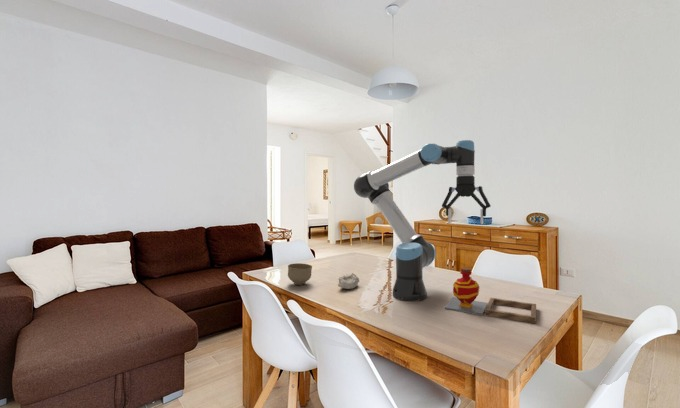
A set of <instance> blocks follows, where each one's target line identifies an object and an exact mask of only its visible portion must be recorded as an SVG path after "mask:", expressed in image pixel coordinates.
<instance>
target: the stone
mask: <svg viewBox="0 0 680 408" xmlns="http://www.w3.org/2000/svg"><path fill="white" fill-rule="evenodd" d="M359 282H360V279H359V277H358V276H357V275H356V274H355V273H354V272H351V273H348V274H345V275H342V276H339V278H338V284H337V286H338V287H339V288H341V289H345V290H346V289H347V290H352V289H354V288H357V286H358V284H359Z"/></svg>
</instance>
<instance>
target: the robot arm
mask: <svg viewBox="0 0 680 408" xmlns="http://www.w3.org/2000/svg"><path fill="white" fill-rule="evenodd" d="M475 151H476V150H475V142H474V141H473V140H470V139H469V140H468V139H465V140H464V139H463V140H458V141H456V144H455V145H454V146H441V145H438V144H436V143H426V144H424V145H423V147H422V148H421V149H419V150H417V151H415V152H413V153H410V154H409V155H406V156H404V157H402V158H400V159H398V160H396V161H393V162H391V163H390V164H387V165H385V166H383V167H381V168H379V169H377V170H374V171H371V170H370V171H368V172H365V173H363V174H361V175H359V176H357V178H356V179H355V180H354V182H353V190H354V192H355V194H356V195H357V196H358V197H360V198H364V199H367V198H368V200H369V202H370V203H371V204H372V205H373V206H376V207H377V208H378V210H379V211H380V213H381V215H383V217H384V218H385V221H386V222H387V223H388V225H389V226H390V227H391V229H392V230H393V232H394V233H395V235H396V236H397V238H398V239H399V241H400V242H401V243H400V244H398V245H397V246H396V250H395V269H396V270H395V271H396V275H395V276H396V278H395V282H394V285H393V288H392V296H393V298H395V299H398V300H401V301H408V302H414V301H415V302H417V301H422V300H425V299H427V294H428V292H427V289H426V286H425V283H424V279H423V268H425V267H428V266H430V265H431V264H432V263H433V262H434V261H435V259H436V256H437V255H436V250H435V247H434V245H433V244H432V243H430V242H429V241H426V240H425V238H424V237H423V235H422V234H418V233H417V232H416V230H415V229H414V228H413V226H412V225H411V224H410V222H409V221H408V219H407V217H406V216H405V215H404V213H403V212H402V210H401V209H400V207H399V206H398V205H397V203H396V201H394V200H393V198H392V196H391V195H392V192H391V190H390V184H389V183H390V182H393V181H394V180H398V179H400V178H401V177H404V176H406V175H409V174H411V173H413V172H415V171H417V170H420V169H422V168H425V167H427V166H429V165H445V164H446V165H447V164H456V179H455V180H456V183H455V184H456V186H455V187H453V186H449V188H448V192H447V195H446V197H445V198H444V201H443V202H442V204H441V208H444V209H445V216H447V217H448V219H447V221H448V224H452V208H451V207H452V205H454V203H455V202H456V201H457V200H458V199H459V198H460V197H461V198H464V197H467V198H468V197H471V198H473V200H474V201H475V202H476V203H477V204H478V205H479V206H480V225H484V217H486V216H487V209H488V208H491V204H490V202H489V200H488V198H487V196H486V194H485V193H484V192H485V191H484V190H483V189H484V188H483V186H482V185H479V186H476V185H475V178H476V177H475V173H476V172H475V171H476V170H475V153H476V152H475ZM475 191H477V192H479V195H480V196H481V199H482V200H483V202H484V203H483V202H482V200H481V199H479V197H478V196H477V194H475ZM454 192H457V193H456V194H455V195H454V197H453V198H452V199H451V200H450V198H451V197H452V194H453V193H454Z"/></svg>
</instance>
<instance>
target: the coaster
mask: <svg viewBox="0 0 680 408" xmlns="http://www.w3.org/2000/svg"><path fill="white" fill-rule="evenodd" d="M460 303H461V301H459V300H458V299H457V297H452V298H451V299H450V300H449V302H447V304H446V305H445V307H444V310H450V311H456V312H463V313H467V314H472V315H479V316H483V315H484V314H485V308H486V306H487V304H488V302H483V301H479V300H478V301H477V300H474V301H473V302H472V305H473V306H472V307H462V306H460V305H459V304H460Z"/></svg>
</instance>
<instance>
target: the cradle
mask: <svg viewBox="0 0 680 408" xmlns="http://www.w3.org/2000/svg"><path fill="white" fill-rule="evenodd" d="M487 303H488V304H487V306H486V308H485V311H484V315H485V316H490V317H494V318H500V319H506V320H513V321H517V322H518V321H519V322H523V323H524V322H525V323H531V324H536V321H537V320H536V319H537V304H536V303H531V302H524V301H519V300H518V301H517V300H510V299H504V298H496V297H489V301H488V302H487ZM494 305H500V306H506V307H513V308H518V309H526V310H530V315H528V314H522V313H517V312H511V311H509V312H508V311H503V310H496V309H493V308H494Z"/></svg>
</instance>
